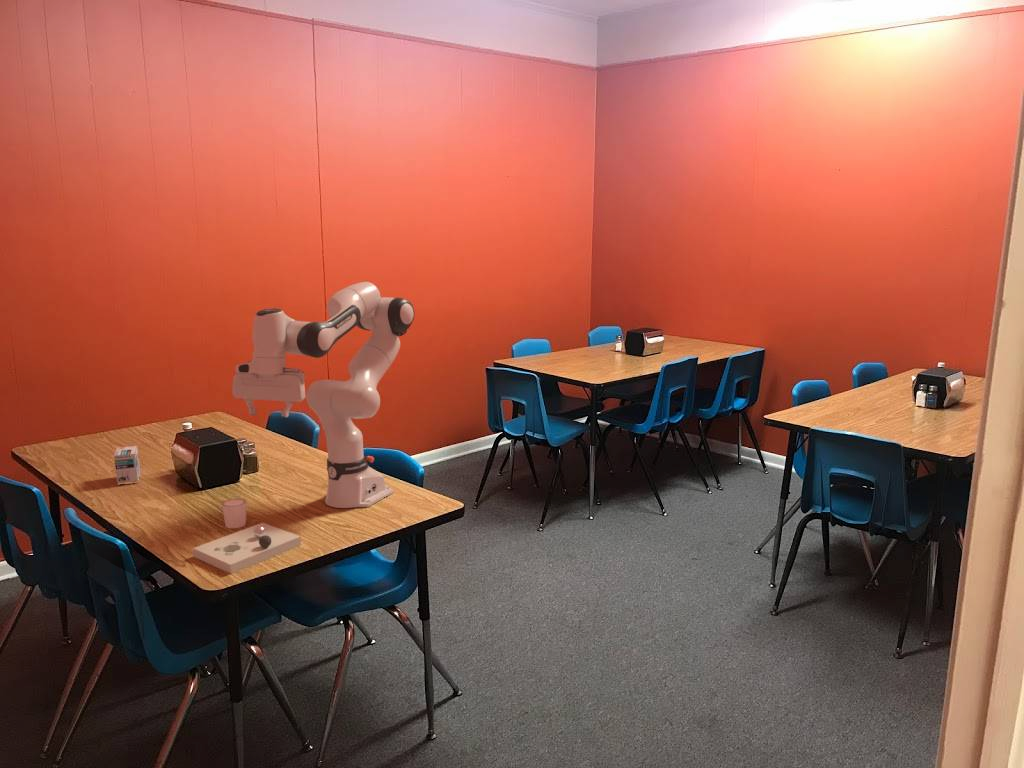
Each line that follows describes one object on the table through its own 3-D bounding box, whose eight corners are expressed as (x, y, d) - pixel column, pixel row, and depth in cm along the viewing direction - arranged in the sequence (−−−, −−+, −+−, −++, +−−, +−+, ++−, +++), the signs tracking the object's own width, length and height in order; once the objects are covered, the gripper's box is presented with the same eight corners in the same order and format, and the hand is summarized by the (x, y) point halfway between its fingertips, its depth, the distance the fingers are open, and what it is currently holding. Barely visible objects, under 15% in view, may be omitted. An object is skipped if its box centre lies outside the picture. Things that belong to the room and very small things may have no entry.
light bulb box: (138, 483, 265) (135, 453, 263) (116, 486, 263) (113, 455, 260) (140, 474, 275) (137, 445, 273) (119, 476, 272) (116, 447, 270)
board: (263, 530, 225) (262, 522, 224) (301, 544, 215) (300, 536, 214) (193, 556, 208) (192, 548, 207) (231, 573, 198) (230, 564, 197)
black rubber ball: (266, 543, 210) (266, 532, 209) (274, 546, 208) (273, 535, 207) (256, 547, 207) (255, 536, 207) (264, 550, 206) (263, 539, 205)
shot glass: (250, 520, 233) (249, 498, 231) (243, 529, 226) (242, 506, 225) (227, 520, 233) (225, 498, 231) (220, 529, 226) (218, 506, 224)
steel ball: (261, 534, 216) (260, 523, 215) (268, 536, 214) (267, 526, 213) (251, 538, 213) (250, 527, 213) (258, 540, 212) (257, 529, 211)
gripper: (309, 367, 219) (308, 416, 220) (240, 364, 221) (240, 412, 223) (300, 369, 212) (300, 419, 214) (229, 366, 215) (229, 415, 216)
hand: (268, 415), depth 218 cm, fingers open, 8 cm apart
